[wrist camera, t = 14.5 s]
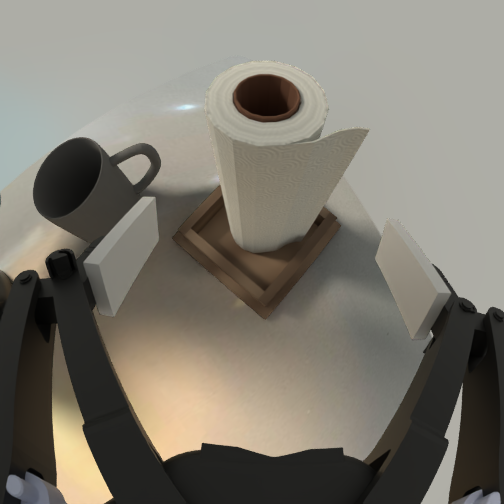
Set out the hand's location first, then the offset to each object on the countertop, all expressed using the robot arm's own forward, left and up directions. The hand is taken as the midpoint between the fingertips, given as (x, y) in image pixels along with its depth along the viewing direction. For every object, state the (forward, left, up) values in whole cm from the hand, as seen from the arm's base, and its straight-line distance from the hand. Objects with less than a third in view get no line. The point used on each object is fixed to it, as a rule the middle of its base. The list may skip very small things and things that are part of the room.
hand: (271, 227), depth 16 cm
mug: (-18, -5, -18) cm, 26 cm away
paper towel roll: (-3, +4, -17) cm, 17 cm away
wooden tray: (-3, +3, -18) cm, 18 cm away
